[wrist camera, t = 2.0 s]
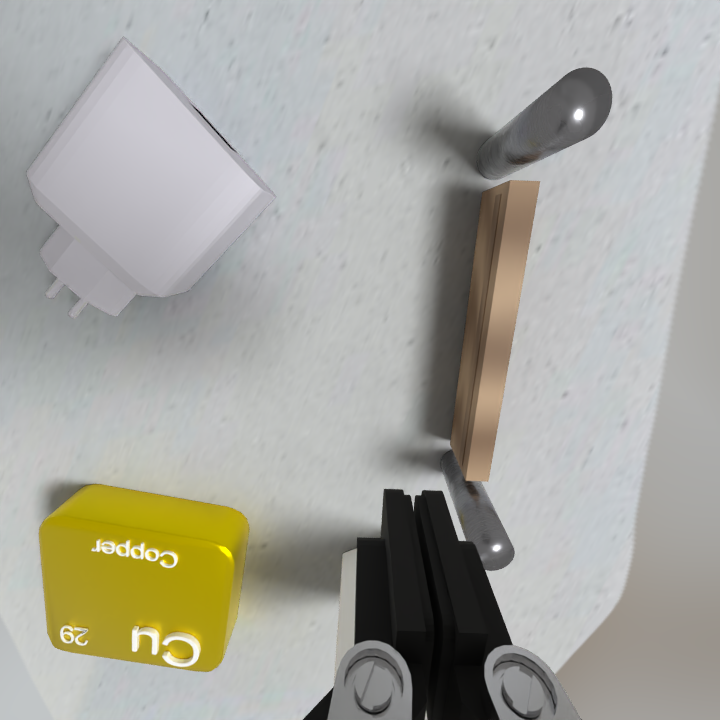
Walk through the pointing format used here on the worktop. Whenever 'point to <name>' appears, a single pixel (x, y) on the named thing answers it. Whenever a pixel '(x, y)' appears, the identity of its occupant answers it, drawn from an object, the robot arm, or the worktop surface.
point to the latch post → (477, 516)
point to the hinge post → (549, 124)
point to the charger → (138, 189)
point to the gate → (491, 321)
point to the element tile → (143, 577)
